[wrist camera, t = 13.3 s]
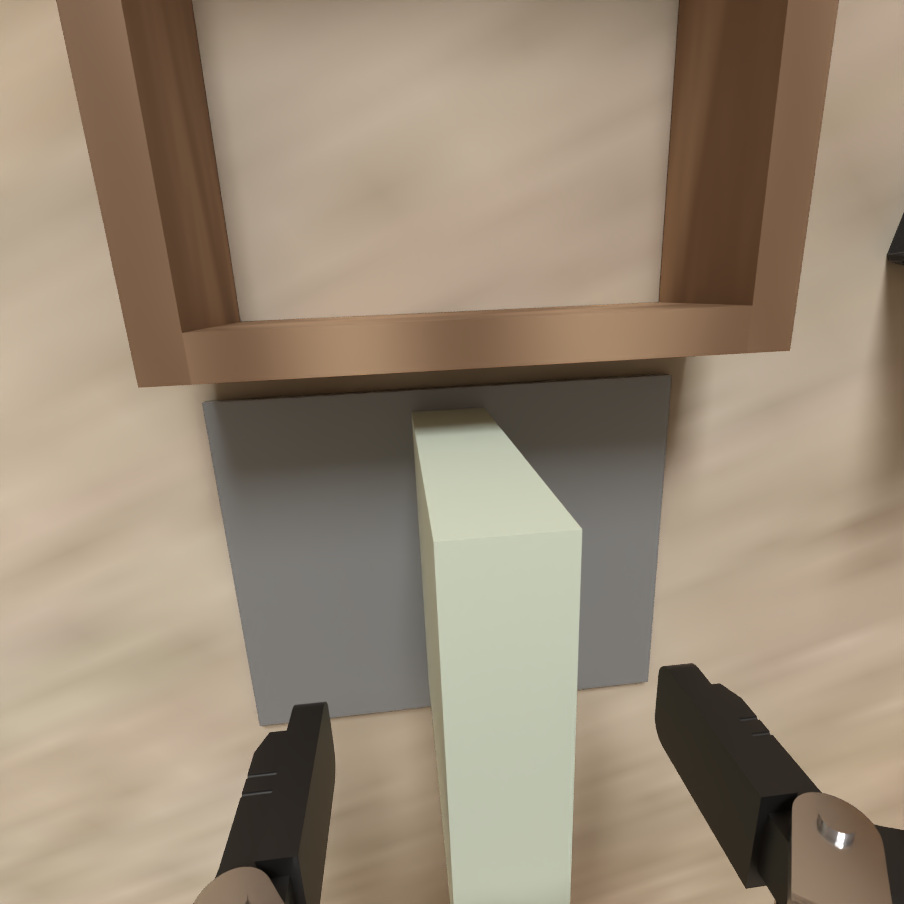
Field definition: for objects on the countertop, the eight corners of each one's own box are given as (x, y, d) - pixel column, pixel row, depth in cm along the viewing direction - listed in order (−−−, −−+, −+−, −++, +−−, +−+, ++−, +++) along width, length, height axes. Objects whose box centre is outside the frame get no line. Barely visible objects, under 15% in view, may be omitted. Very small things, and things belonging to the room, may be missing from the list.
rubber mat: (667, 374, 19) (671, 375, 19) (644, 676, 23) (647, 681, 23) (205, 401, 18) (202, 403, 17) (261, 720, 21) (259, 725, 21)
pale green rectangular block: (483, 407, 18) (582, 528, 9) (490, 674, 22) (567, 972, 12) (411, 411, 18) (432, 542, 9) (428, 680, 21) (458, 990, 12)
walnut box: (743, -297, 14) (922, -597, 9) (689, 336, 19) (789, 350, 14) (87, -338, 13) (-97, -720, 8) (207, 361, 17) (138, 387, 13)
